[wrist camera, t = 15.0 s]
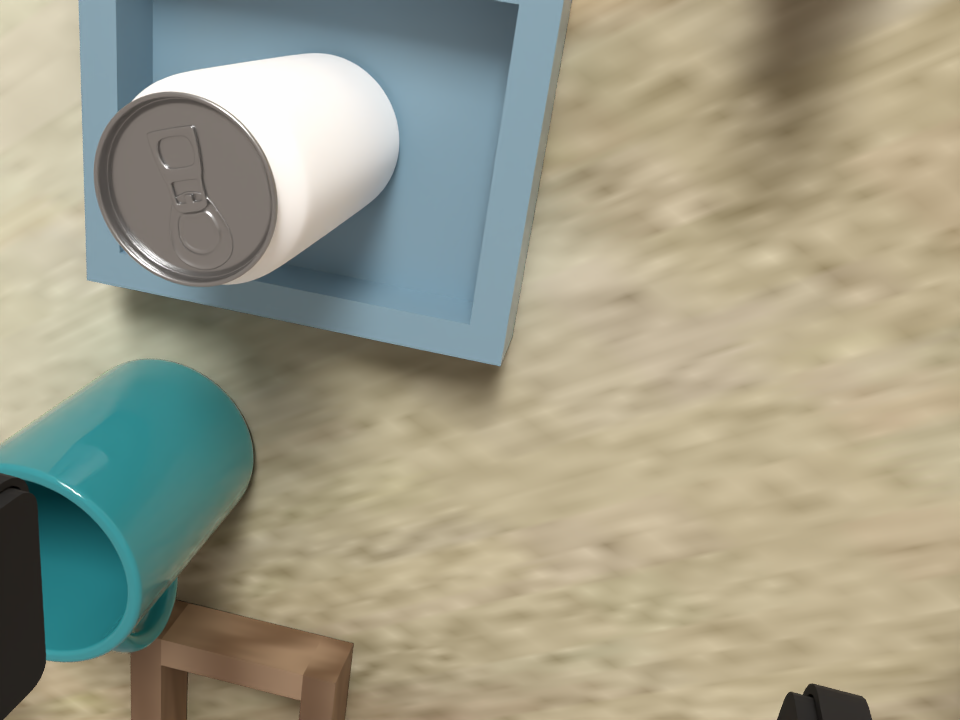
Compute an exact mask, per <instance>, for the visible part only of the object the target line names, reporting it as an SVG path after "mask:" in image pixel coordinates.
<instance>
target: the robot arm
mask: <svg viewBox="0 0 960 720" xmlns="http://www.w3.org/2000/svg"><path fill="white" fill-rule="evenodd" d="M45 664H46V645H45V628H44V610H43V593H42V576H41V558H40V541H39V523H38V506H37V500H36V498H35V496H34V495H33V494H31V493H29V489H28V485H27V484H26V482H25V481H24V480H22V479H20V478H18V477H14V476H11V475H7V474H3V473H0V720H3V719H4V718H5V717H6V716H7V715H8V714H9V713H10V712H11V711H12V710H13V709H14V708H15V707H16V706H17V705H18V704H19V703H20V702H21V701H22V700H23V699H24V698H25V697H26V696H27V695H28V694H29V693H30V692H31V691H32V690H33V688H34V687H35V686H36V685H37V683H38V681H39V680H40V678H41V676H42V674H43V671H44V668H45ZM777 720H872V718H871V714H870V710H869V707H868V704H867V702H866V700H865V699H864V698H863V697H862V696H859V695H855V694H851V693H847V692H843V691H839V690H835V689H832V688H828V687H824V686H820V685H816V684H809V685H808V686H807V688H806V689H805V691H804V693H803V695H801V694H798V693H794V692H789V693H788V694H787V695H786V697H785V699H784V702H783V705H782V707H781V710H780V713H779V716H778V719H777Z"/></svg>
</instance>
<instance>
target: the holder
mask: <svg viewBox="0 0 960 720" xmlns="http://www.w3.org/2000/svg"><path fill="white" fill-rule="evenodd" d="M352 653H353V643H349V642H345V641H341V640H337V639H333V638H329V637H325V636H321V635H317V634H313V633H309V632H305V631H301V630H296V629H292V628H288V627H284V626H280V625H276V624H272V623H268V622H264V621H260V620H256V619H252V618H248V617H244V616H239V615H235V614H231V613H227V612H223V611H219V610H215V609H211V608H207V607H203V606H199V605H195V604H191V603H187V602H183V601H178V600H175V604H174V607H173V610H172V613H171V616H170V618H169V620H168V622H167V624H166V626H165V628H164V629H163V631H162V632H161V634H160V635H159V637H158V638H157V639H156V640H155V641H154V642H153V643H152V644H151V645H149V646H148V647H146V648H144V649H142V650H140V651H137V652H133V653H131V720H187V675H188V672H190V673H194V674H198V675H202V676H206V677H210V678H214V679H218V680H222V681H226V682H229V683H233V684H237V685H241V686H245V687H249V688H253V689H257V690H261V691H265V692H269V693H273V694H277V695H281V696H285V697H288V698H292V699H296V700H300V701H301V703H300V714H299V720H345V713H346V704H347V696H348V687H349V678H350V670H351V661H352Z"/></svg>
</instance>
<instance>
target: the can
mask: <svg viewBox="0 0 960 720" xmlns="http://www.w3.org/2000/svg"><path fill="white" fill-rule="evenodd" d="M398 153H399V130H398V124H397V120H396V116H395V113H394V110H393V108H392V105H391V103H390V101H389V99H388V97H387V96H386V94H385V92H384V91H383V89H382V88H381V87H380V85H379V84H378V83H377V82H376V81H375V80H374V79H373V78H372V77H371V76H370V75H369V74H368V73H367V72H366V71H365V70H363V69H362V68H361V67H359V66H358V65H356V64H354V63H352V62H351V61H348V60H346V59H344V58H341V57H338V56H335V55H330V54H323V53H307V54H298V55H290V56H283V57H276V58H269V59H263V60H256V61H249V62H243V63H236V64H230V65H224V66H217V67H211V68H205V69H199V70H193V71H188V72H184V73H179V74H175V75H172V76H169V77H167V78H164V79H162V80H159V81H157V82H155V83H153V84H152V85H150V86H149V87H147V88H146V89H144V90H143V91H142V92H141V93H139V94H138V95H137V96H136V97H135V98H134V99H133V101H132V102H130V103H129V104H127V105H126V106H124V107H123V108H122V109H121V110H120V111H119V112H117V113H116V114H115V116H114V117H113V118H112V119H111V120H110V122H109V123H108V125H107V126H106V128H105V129H104V131H103V133H102V135H101V138H100V140H99V143H98V146H97V150H96V154H95V160H94V186H95V192H96V197H97V201H98V205H99V208H100V211H101V213H102V216H103V218H104V220H105V222H106V224H107V226H108V228H109V230H110V232H111V233H112V235H113V236H114V238H115V239H116V241H117V242H118V243H119V245H120V246H121V247H122V248H123V249H124V250H125V252H126V253H127V254H128V255H129V256H130V257H131V258H132V259H134V260H135V261H136V262H137V263H138V264H139V265H141V266H142V267H143V268H145V269H146V270H148V271H149V272H151V273H153V274H154V275H156V276H158V277H160V278H162V279H165V280H167V281H170V282H173V283H176V284H180V285H184V286H190V287H211V286H217V285H231V284H240V283H245V282H249V281H252V280H255V279H257V278H260V277H262V276H264V275H266V274H268V273H270V272H272V271H274V270H275V269H277V268H278V267H280V266H282V265H283V264H285V263H286V262H287V261H289V260H290V259H292V258H293V257H295V256H296V255H298V254H299V253H301V252H302V251H303V250H305V249H306V248H308V247H309V246H311V245H312V244H313V243H315V242H316V241H318V240H319V239H320V238H322V237H323V236H325V235H326V234H328V233H329V232H330V231H332V230H333V229H335V228H336V227H337V226H339V225H340V224H342V223H343V222H344V221H346V220H347V219H349V218H350V217H351V216H353V215H354V214H355V213H357V212H358V211H360V210H361V209H362V208H364V207H365V206H366V205H368V204H369V203H370V202H371V201H373V200H374V199H375V198H376V197H377V196H378V195H379V194H380V193H381V192H382V190H383V189H384V188H385V186H386V185H387V183H388V182H389V180H390V178H391V176H392V174H393V172H394V169H395V166H396V163H397V159H398Z"/></svg>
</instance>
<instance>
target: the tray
mask: <svg viewBox="0 0 960 720" xmlns="http://www.w3.org/2000/svg"><path fill="white" fill-rule="evenodd" d="M571 3H572V0H79V29H80V62H81V95H82V129H83V162H84V195H85V229H86V262H87V280H89V281H94V282H99V283H103V284H108V285H113V286H118V287H123V288H127V289H132V290H137V291H142V292H147V293H151V294H156V295H161V296H166V297H170V298H175V299H180V300H185V301H190V302H194V303H199V304H204V305H209V306H214V307H218V308H223V309H228V310H233V311H238V312H242V313H247V314H252V315H257V316H262V317H266V318H271V319H276V320H281V321H286V322H290V323H295V324H300V325H305V326H310V327H314V328H319V329H324V330H329V331H333V332H338V333H343V334H348V335H353V336H357V337H362V338H367V339H372V340H377V341H381V342H386V343H391V344H396V345H401V346H405V347H410V348H415V349H420V350H425V351H429V352H434V353H439V354H444V355H449V356H453V357H458V358H463V359H468V360H472V361H477V362H482V363H487V364H492V365H496V366H501V364H502V361H503V359H504V356H505V354H506V351H507V349H508V346H509V344H510V342H511V339H512V337H513V331H514V325H515V320H516V314H517V308H518V303H519V297H520V291H521V286H522V280H523V274H524V269H525V263H526V257H527V252H528V246H529V240H530V235H531V229H532V223H533V218H534V212H535V206H536V201H537V195H538V189H539V184H540V178H541V172H542V167H543V161H544V156H545V150H546V144H547V139H548V133H549V127H550V122H551V116H552V110H553V105H554V99H555V93H556V88H557V82H558V76H559V71H560V65H561V59H562V54H563V48H564V42H565V37H566V31H567V25H568V20H569V14H570V8H571ZM307 53H323V54H330V55H335V56H338V57H341V58H344V59H346V60H348V61H351V62H352V63H354V64H356V65H358V66H359V67H361V68H362V69H363V70H365V71H366V72H367V73H368V74H369V75H370V76H371V77H372V78H373V79H374V80H375V81H376V82H377V83H378V84H379V85H380V87H381V88H382V89H383V91H384V92H385V94H386V96H387V97H388V99H389V101H390V103H391V105H392V108H393V110H394V113H395V116H396V120H397V124H398V130H399V153H398V159H397V163H396V166H395V169H394V172H393V174H392V176H391V178H390V180H389V182H388V183H387V185H386V186H385V188H384V189H383V190H382V192H381V193H380V194H379V195H378V196H377V197H376V198H375V199H374V200H373V201H371V202H370V203H369V204H368V205H366V206H365V207H364V208H362V209H361V210H360V211H358V212H357V213H355V214H354V215H353V216H351V217H350V218H349V219H347V220H346V221H344V222H343V223H342V224H340V225H339V226H337V227H336V228H335V229H333V230H332V231H330V232H329V233H328V234H326V235H325V236H323V237H322V238H320V239H319V240H318V241H316V242H315V243H313V244H312V245H311V246H309V247H308V248H306V249H305V250H303V251H302V252H301V253H299V254H298V255H296V256H295V257H293V258H292V259H290V260H289V261H287V262H286V263H285V264H283V265H282V266H280V267H278V268H277V269H275V270H274V271H272V272H270V273H268V274H266V275H264V276H262V277H260V278H257V279H255V280H252V281H249V282H245V283H240V284H231V285H217V286H211V287H190V286H184V285H180V284H176V283H173V282H170V281H167V280H165V279H162V278H160V277H158V276H156V275H154V274H153V273H151V272H149V271H148V270H146V269H145V268H143V267H142V266H141V265H139V264H138V263H137V262H136V261H135V260H134V259H132V258H131V257H130V256H129V255H128V254H127V253H126V252H125V250H124V249H123V248H122V247H121V246H120V245H119V243H118V242H117V241H116V239H115V238H114V236H113V235H112V233H111V232H110V230H109V228H108V226H107V224H106V222H105V220H104V218H103V216H102V213H101V211H100V208H99V205H98V201H97V197H96V192H95V186H94V160H95V154H96V150H97V146H98V143H99V140H100V138H101V135H102V133H103V131H104V129H105V128H106V126H107V125H108V123H109V122H110V120H111V119H112V118H113V117H114V116H115V114H116V113H117V112H119V111H120V110H121V109H122V108H123V107H124V106H126V105H127V104H129V103H130V102H132V101H133V99H134V98H135V97H136V96H137V95H138V94H139V93H141V92H142V91H143V90H144V89H146V88H147V87H149V86H150V85H152V84H153V83H155V82H157V81H159V80H162V79H164V78H167V77H169V76H172V75H175V74H179V73H184V72H188V71H193V70H199V69H205V68H211V67H217V66H224V65H230V64H236V63H243V62H249V61H256V60H263V59H269V58H276V57H283V56H290V55H298V54H307Z"/></svg>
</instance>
